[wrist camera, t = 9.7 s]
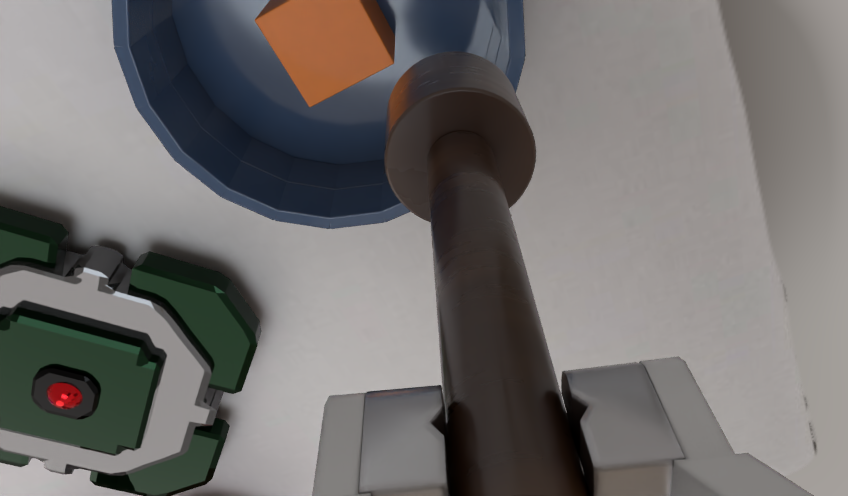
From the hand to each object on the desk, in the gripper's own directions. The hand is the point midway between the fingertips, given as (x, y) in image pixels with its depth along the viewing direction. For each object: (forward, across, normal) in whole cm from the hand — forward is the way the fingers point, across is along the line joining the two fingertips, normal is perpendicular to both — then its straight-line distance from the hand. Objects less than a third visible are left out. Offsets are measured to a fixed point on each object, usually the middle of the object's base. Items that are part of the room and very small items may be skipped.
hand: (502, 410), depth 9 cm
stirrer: (+11, 0, 0) cm, 11 cm away
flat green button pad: (+25, +22, +17) cm, 38 cm away
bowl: (+25, +4, 0) cm, 25 cm away
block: (+24, +4, 0) cm, 25 cm away
